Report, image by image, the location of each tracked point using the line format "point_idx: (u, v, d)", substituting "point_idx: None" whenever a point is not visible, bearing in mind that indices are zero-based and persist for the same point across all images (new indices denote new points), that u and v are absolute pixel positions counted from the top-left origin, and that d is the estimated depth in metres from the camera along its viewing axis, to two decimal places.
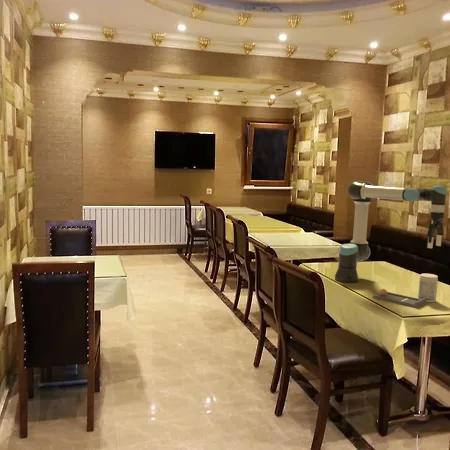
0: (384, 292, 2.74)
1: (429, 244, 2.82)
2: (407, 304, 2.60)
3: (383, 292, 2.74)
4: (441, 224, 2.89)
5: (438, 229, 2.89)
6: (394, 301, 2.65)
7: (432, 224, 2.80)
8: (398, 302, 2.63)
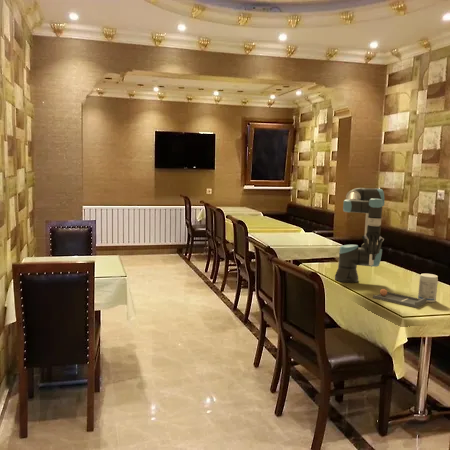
0: (384, 292, 2.74)
1: None
2: (407, 304, 2.60)
3: (383, 292, 2.74)
4: (378, 242, 2.75)
5: None
6: (394, 301, 2.65)
7: None
8: (398, 302, 2.63)
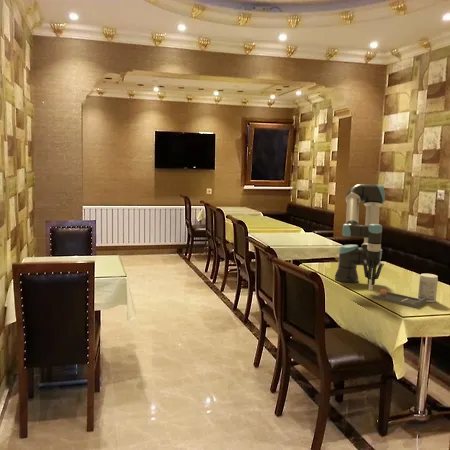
0: (384, 292, 2.74)
1: None
2: (407, 304, 2.60)
3: (383, 292, 2.74)
4: (378, 267, 2.76)
5: None
6: (394, 301, 2.65)
7: None
8: (398, 302, 2.63)
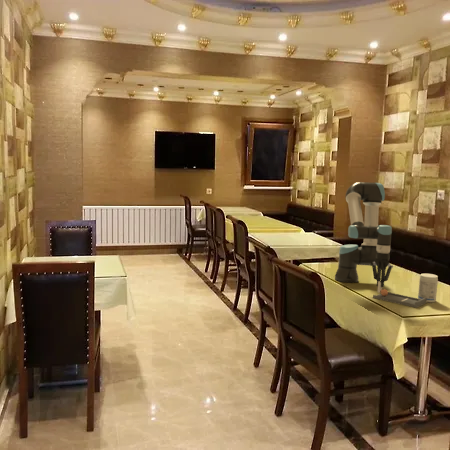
0: (385, 293, 2.74)
1: None
2: (407, 304, 2.60)
3: (384, 293, 2.74)
4: (387, 269, 2.72)
5: None
6: (394, 301, 2.65)
7: None
8: (398, 302, 2.63)
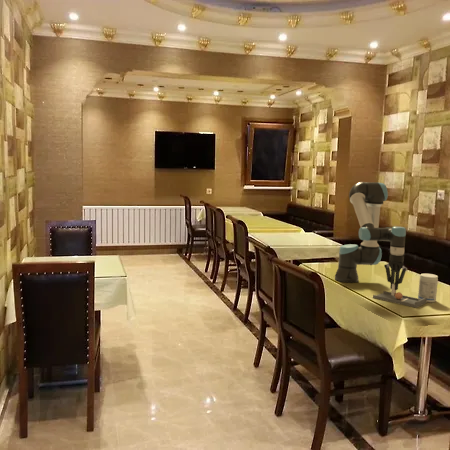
0: (396, 294, 2.69)
1: None
2: (407, 304, 2.60)
3: (396, 295, 2.69)
4: (401, 272, 2.66)
5: None
6: (394, 301, 2.65)
7: None
8: (398, 302, 2.63)
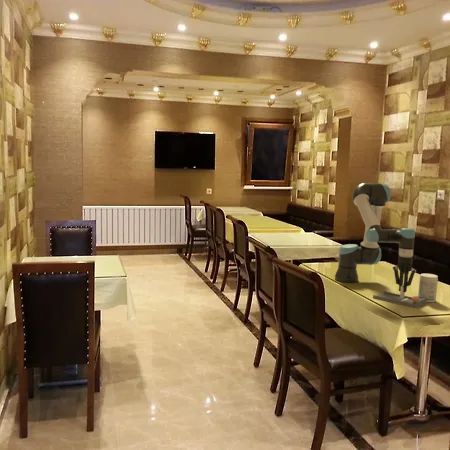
0: (412, 300, 2.63)
1: None
2: (407, 304, 2.60)
3: (413, 300, 2.62)
4: (410, 274, 2.63)
5: None
6: (394, 301, 2.65)
7: None
8: (398, 302, 2.63)
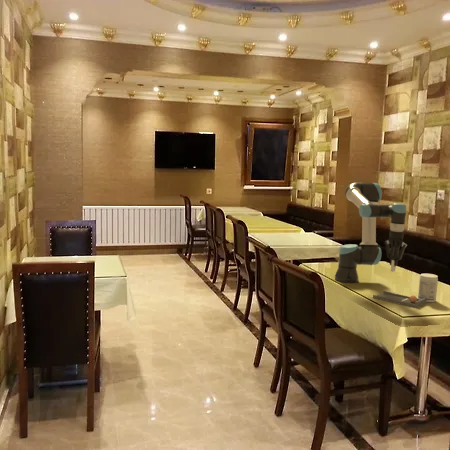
0: (411, 301, 2.63)
1: None
2: (407, 304, 2.60)
3: (411, 301, 2.63)
4: (401, 248, 2.69)
5: None
6: (394, 301, 2.65)
7: None
8: (398, 302, 2.63)
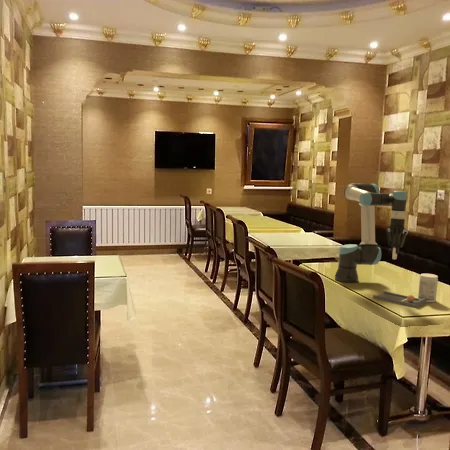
0: (410, 301, 2.64)
1: None
2: (407, 304, 2.60)
3: (410, 300, 2.64)
4: None
5: None
6: (394, 301, 2.65)
7: None
8: (398, 302, 2.63)
